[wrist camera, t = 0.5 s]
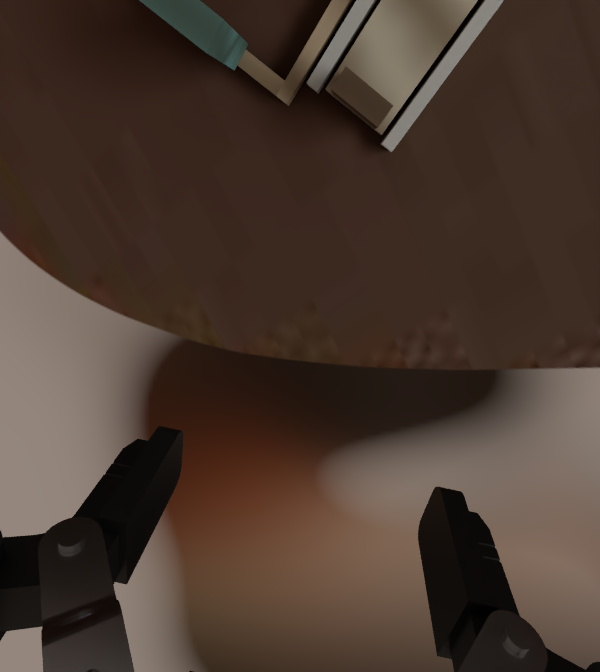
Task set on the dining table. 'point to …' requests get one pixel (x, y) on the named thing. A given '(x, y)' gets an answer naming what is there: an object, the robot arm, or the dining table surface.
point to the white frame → (230, 48)
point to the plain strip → (394, 56)
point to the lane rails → (433, 82)
